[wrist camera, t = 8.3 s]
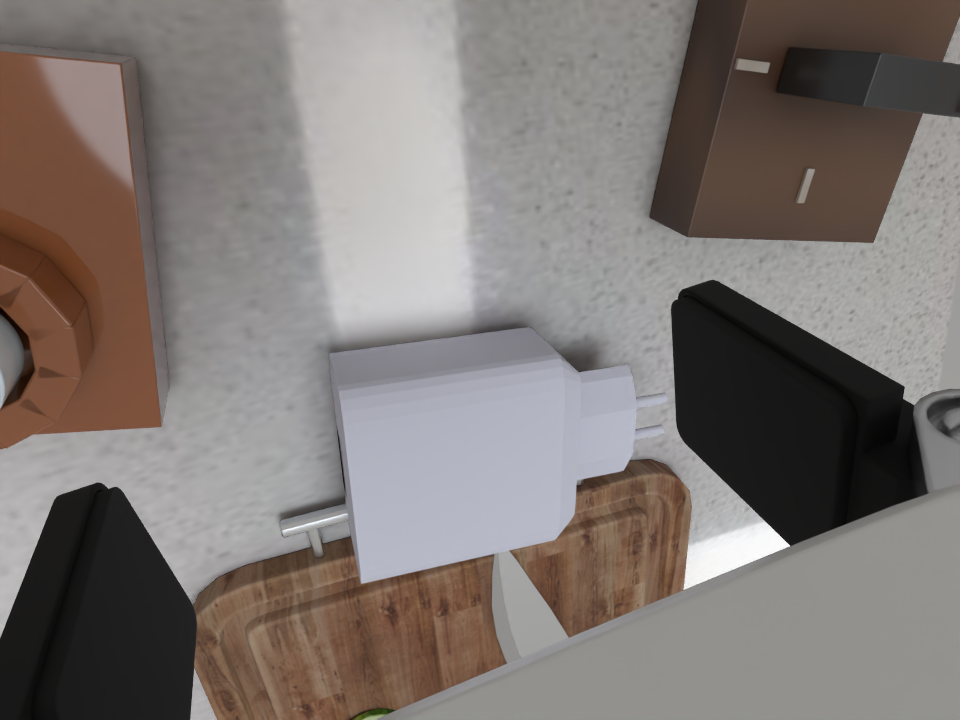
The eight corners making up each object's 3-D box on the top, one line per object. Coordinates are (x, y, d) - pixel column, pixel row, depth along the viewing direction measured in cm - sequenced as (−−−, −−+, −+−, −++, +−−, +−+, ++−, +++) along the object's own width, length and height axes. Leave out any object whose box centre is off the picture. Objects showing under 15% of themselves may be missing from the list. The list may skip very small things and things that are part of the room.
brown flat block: (730, -140, 24) (791, -159, 21) (933, -89, 27) (1008, -100, 24) (649, 218, 29) (689, 238, 27) (825, 224, 33) (876, 244, 30)
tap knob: (775, 92, 25) (868, 107, 21) (788, 46, 24) (887, 53, 21) (885, 105, 27) (988, 121, 23) (900, 62, 26) (1009, 71, 22)
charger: (630, 468, 35) (347, 525, 31) (646, 304, 31) (325, 346, 28) (681, 522, 31) (361, 595, 27) (706, 341, 27) (338, 396, 23)
